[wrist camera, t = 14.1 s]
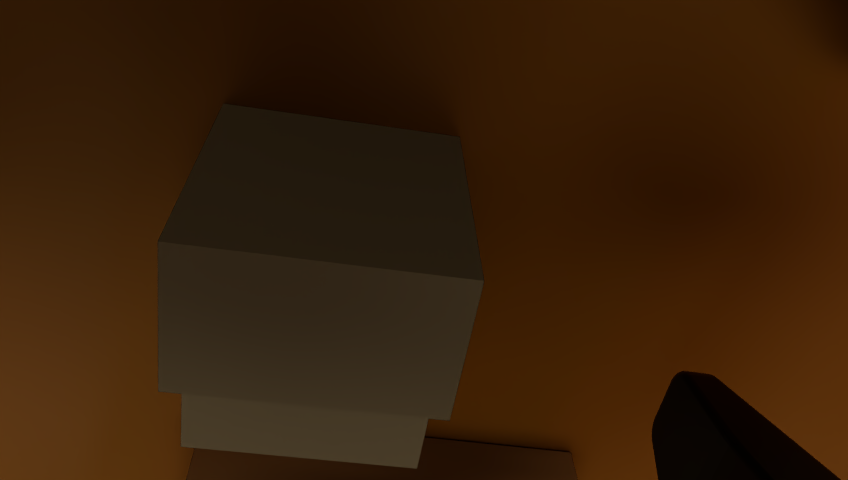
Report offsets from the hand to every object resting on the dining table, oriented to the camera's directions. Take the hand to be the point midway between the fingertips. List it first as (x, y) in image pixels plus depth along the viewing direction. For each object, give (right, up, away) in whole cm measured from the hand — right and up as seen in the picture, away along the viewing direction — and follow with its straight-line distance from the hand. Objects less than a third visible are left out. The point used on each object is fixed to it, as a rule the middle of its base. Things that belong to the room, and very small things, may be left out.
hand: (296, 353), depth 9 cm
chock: (0, +1, +6) cm, 6 cm away
